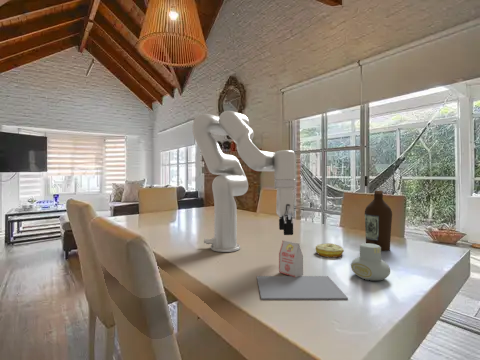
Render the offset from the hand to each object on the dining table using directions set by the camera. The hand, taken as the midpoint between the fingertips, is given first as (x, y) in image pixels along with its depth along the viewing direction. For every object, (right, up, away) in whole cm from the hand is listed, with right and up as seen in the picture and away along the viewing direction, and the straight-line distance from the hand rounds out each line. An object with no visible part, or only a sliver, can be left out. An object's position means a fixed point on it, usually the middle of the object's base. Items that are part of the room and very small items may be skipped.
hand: (285, 232), depth 98 cm
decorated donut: (+19, -11, +11) cm, 25 cm away
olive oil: (+43, -11, +20) cm, 49 cm away
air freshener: (+24, -12, -14) cm, 30 cm away
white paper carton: (0, -11, -12) cm, 16 cm away
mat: (0, -11, -22) cm, 25 cm away
